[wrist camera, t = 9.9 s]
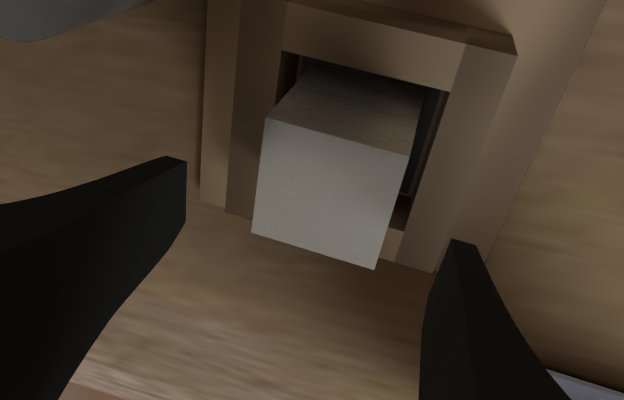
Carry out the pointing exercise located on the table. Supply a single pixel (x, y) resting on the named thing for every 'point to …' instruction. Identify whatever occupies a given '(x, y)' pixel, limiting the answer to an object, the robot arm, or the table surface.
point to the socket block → (409, 67)
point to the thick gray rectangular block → (54, 16)
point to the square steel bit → (336, 161)
